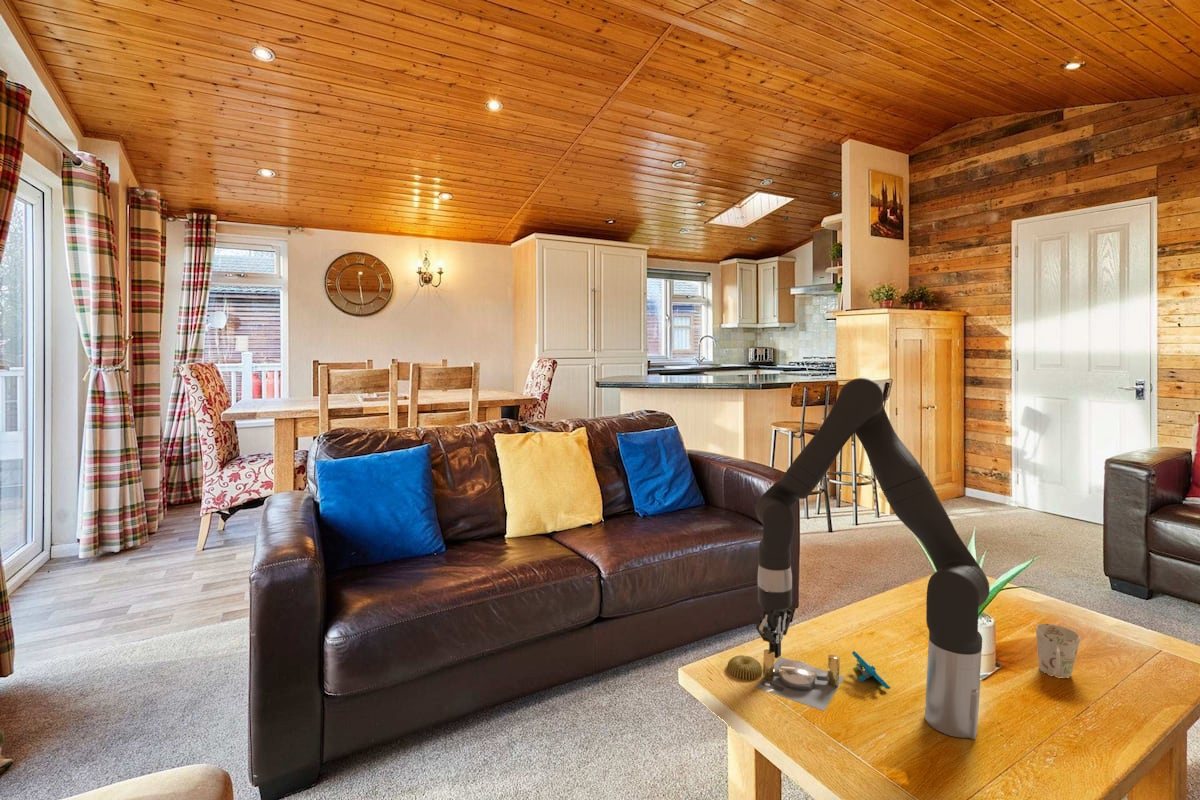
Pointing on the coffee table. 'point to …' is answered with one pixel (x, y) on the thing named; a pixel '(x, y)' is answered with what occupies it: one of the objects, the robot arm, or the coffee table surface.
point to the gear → (867, 670)
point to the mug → (1056, 649)
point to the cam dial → (799, 672)
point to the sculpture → (744, 666)
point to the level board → (811, 697)
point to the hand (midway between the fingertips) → (775, 656)
